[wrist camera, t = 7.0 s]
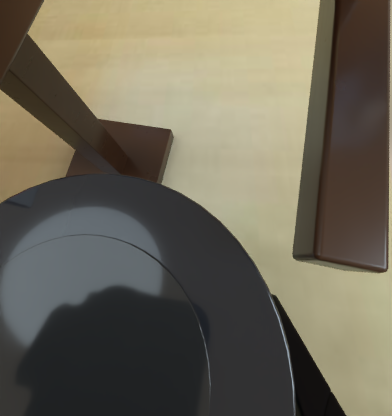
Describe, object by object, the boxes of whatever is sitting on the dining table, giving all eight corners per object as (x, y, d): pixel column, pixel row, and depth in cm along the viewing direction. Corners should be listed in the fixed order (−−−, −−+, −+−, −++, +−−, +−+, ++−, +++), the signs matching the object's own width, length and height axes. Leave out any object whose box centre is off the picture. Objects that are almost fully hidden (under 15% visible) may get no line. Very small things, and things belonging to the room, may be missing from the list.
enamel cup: (246, 314, 15) (413, 585, 3) (154, 355, 15) (-164, 866, 2) (206, 223, 17) (187, 117, 4) (124, 259, 17) (-144, 255, 4)
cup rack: (238, 262, 16) (711, 302, 1) (59, 222, 18) (-782, 18, 3) (257, 149, 18) (482, -419, 3) (95, 125, 20) (-268, -289, 5)
